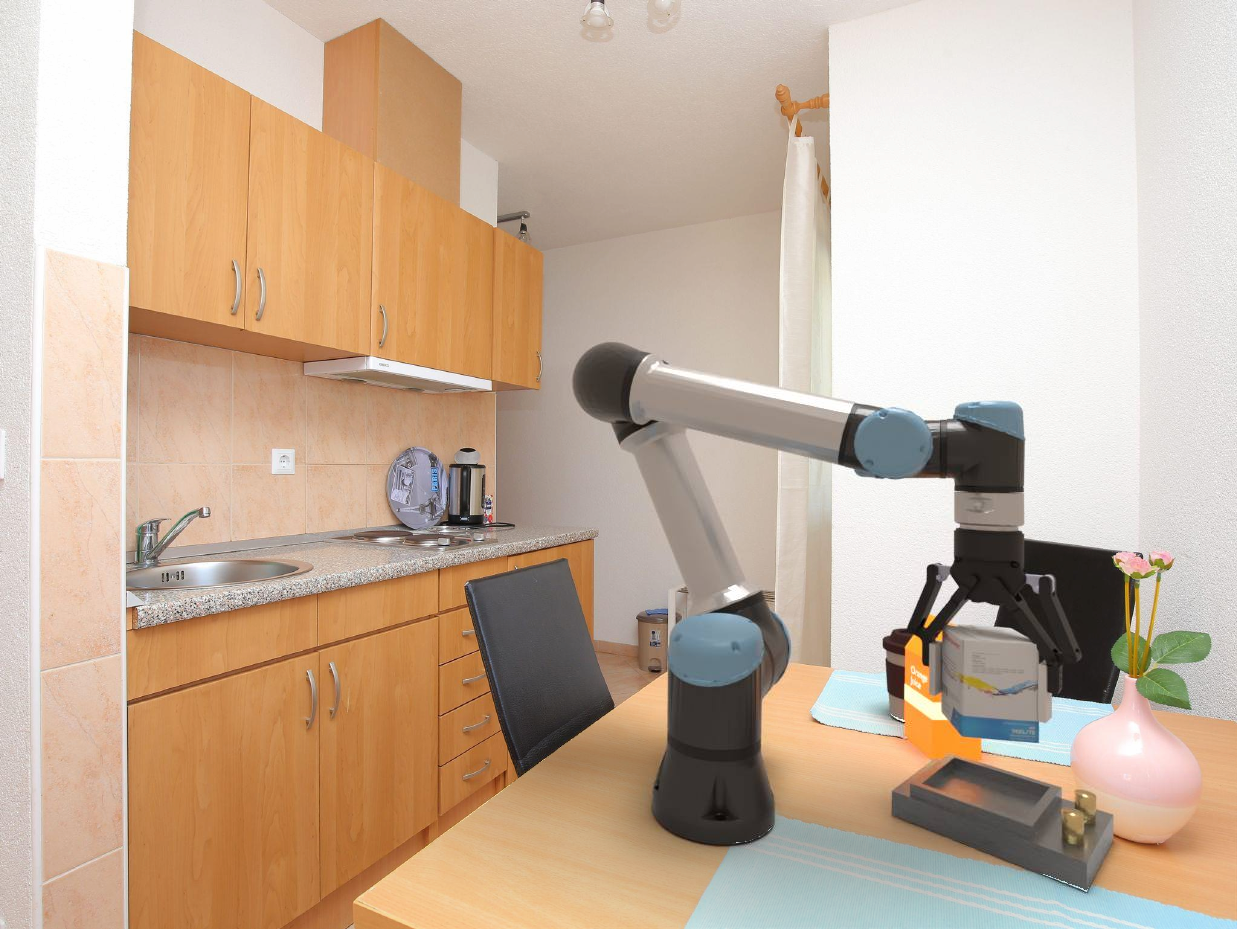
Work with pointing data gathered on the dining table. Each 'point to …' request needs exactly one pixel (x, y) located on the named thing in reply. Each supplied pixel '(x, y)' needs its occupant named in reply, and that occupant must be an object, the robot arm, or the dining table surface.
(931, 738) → the orange juice
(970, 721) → the ink box
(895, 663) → the coffee cup
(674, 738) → the robot arm
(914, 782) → the grey tray with knobs
